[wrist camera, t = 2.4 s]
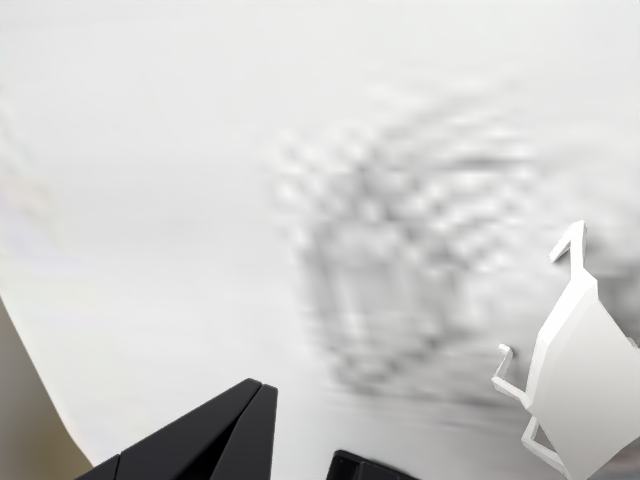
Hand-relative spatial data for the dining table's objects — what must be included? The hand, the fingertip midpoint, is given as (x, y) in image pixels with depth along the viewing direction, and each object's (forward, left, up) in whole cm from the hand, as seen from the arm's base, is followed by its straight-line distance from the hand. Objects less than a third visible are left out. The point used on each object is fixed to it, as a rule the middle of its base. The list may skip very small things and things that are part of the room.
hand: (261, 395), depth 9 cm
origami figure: (-1, -12, -13) cm, 18 cm away
